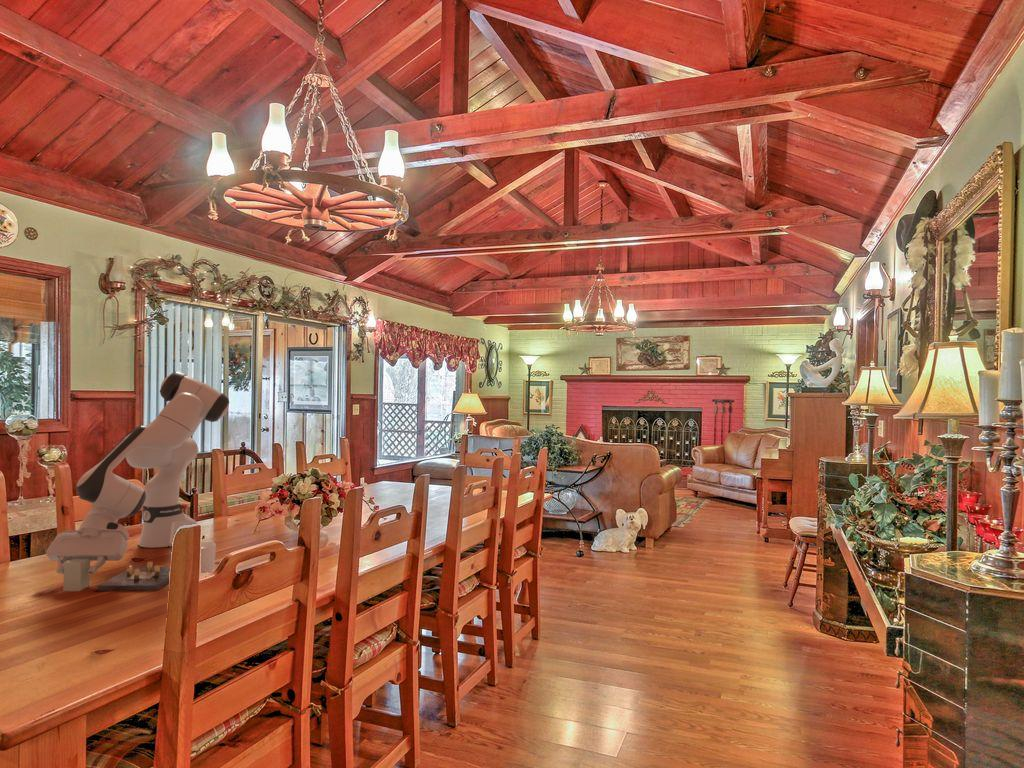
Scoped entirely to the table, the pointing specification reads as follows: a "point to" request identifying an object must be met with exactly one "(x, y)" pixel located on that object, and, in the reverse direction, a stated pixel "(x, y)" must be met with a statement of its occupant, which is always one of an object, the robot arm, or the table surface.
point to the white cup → (207, 556)
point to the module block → (76, 574)
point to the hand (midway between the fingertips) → (75, 572)
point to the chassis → (138, 579)
